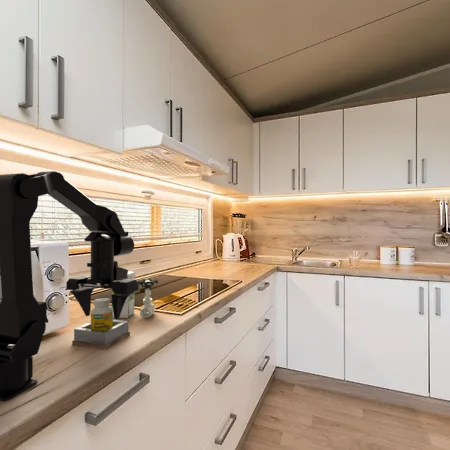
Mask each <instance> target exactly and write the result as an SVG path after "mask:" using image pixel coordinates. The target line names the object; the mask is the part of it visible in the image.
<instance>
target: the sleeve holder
mask: <svg viewBox="0 0 450 450" xmlns="http://www.w3.org/2000/svg"><path fill="white" fill-rule="evenodd" d="M130 336H131V332H130V331H129V320H121V319H117V320H116V319H113V327H111V328H109V329H107V330H105V331H102V330H94V329H91V321H90V322H88V323H84V324H83V325H80V326H77V327H75V328H74V329H73V340H72V342H71V343H72V344H71V345H72V346H77V347H84V348H90V349H95V350H96V349H97V350H101V351H102V350H103V351H106V350H108V349H109V348H111V347H113V346H115V345H116V344H118V343H120V342H122V341H124V340H125V339H127V338H128V337H130Z"/></svg>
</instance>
